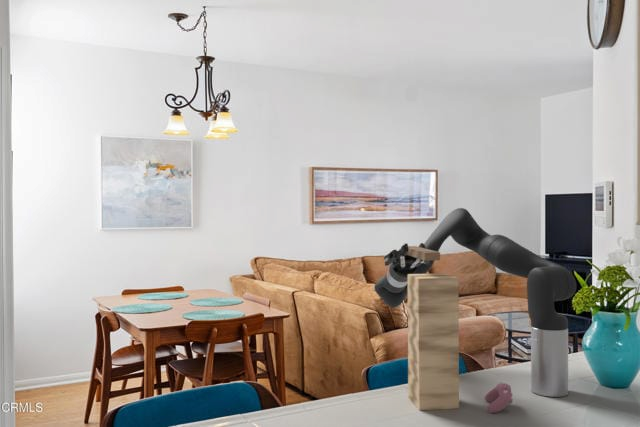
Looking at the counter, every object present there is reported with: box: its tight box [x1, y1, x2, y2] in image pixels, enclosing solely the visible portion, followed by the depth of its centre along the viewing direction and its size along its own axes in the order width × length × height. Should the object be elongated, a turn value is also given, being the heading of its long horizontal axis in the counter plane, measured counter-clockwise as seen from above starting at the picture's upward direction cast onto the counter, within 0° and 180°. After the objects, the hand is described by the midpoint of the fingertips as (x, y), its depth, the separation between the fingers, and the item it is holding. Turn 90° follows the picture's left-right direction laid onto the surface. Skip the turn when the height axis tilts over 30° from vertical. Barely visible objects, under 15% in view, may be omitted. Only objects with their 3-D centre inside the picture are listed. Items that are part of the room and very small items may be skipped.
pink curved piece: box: [484, 382, 514, 414], centre depth 149 cm, size 10×5×7 cm, turn 169°
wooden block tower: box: [406, 272, 460, 411], centre depth 153 cm, size 10×10×32 cm
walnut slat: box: [406, 245, 441, 261], centre depth 163 cm, size 22×4×2 cm, turn 7°
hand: (414, 246), depth 168 cm, fingers closed on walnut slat, 4 cm apart
